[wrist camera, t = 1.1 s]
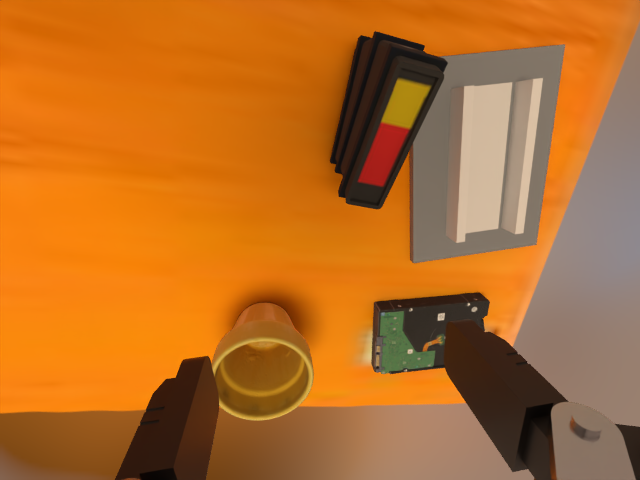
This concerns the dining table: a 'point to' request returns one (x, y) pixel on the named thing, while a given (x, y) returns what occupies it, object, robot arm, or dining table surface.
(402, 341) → the disk drive
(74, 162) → the dining table surface
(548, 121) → the rail board
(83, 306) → the dining table surface
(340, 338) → the dining table surface
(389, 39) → the magazine
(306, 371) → the plant pot
